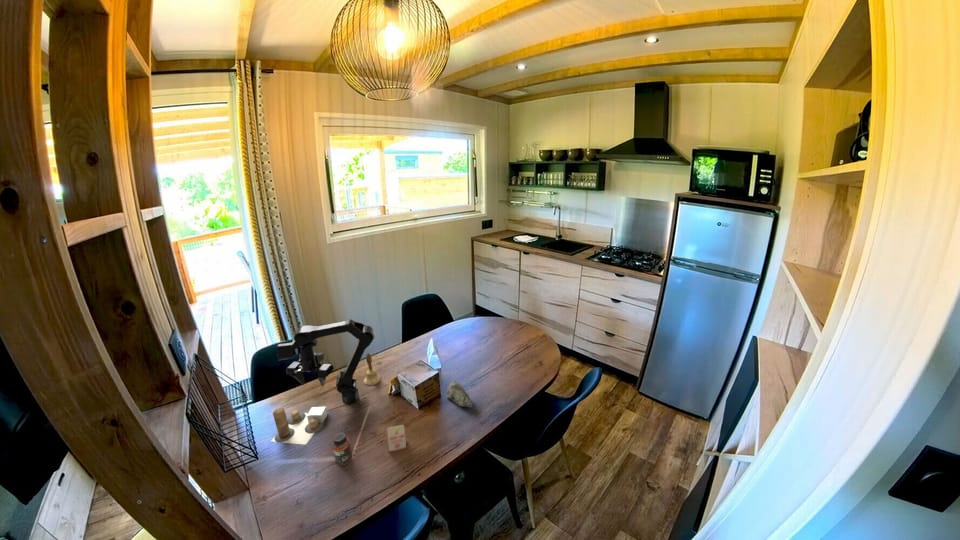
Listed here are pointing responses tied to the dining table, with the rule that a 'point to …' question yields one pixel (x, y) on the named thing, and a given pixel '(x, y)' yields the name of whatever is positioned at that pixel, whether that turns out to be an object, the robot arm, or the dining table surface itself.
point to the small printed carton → (396, 438)
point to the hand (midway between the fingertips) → (313, 385)
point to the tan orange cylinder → (281, 423)
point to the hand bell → (371, 373)
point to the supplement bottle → (342, 449)
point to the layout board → (300, 428)
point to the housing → (317, 414)
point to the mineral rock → (458, 395)
